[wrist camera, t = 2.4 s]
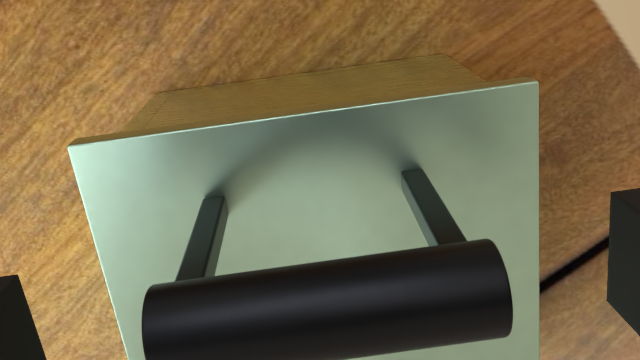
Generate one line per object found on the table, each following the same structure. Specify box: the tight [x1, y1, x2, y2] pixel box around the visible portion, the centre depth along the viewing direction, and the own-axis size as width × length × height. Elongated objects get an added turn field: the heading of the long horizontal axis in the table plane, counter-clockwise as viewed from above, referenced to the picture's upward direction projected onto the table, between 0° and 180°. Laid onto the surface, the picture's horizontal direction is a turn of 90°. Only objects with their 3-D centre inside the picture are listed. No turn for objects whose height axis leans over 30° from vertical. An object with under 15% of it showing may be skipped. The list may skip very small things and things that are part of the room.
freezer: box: [119, 54, 487, 133], centre depth 27 cm, size 18×14×11 cm
